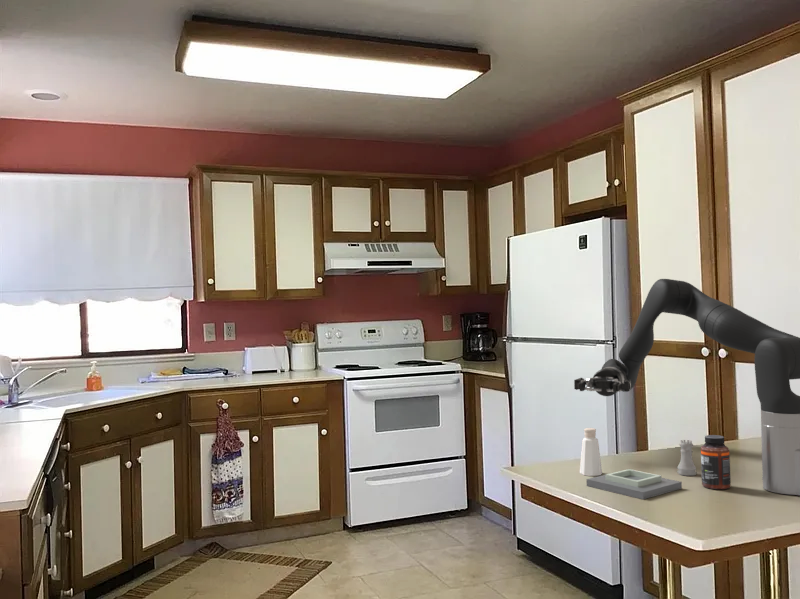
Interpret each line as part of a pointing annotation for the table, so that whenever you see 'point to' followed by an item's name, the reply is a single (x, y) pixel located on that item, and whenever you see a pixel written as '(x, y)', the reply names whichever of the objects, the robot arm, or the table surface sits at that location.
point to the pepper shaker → (590, 454)
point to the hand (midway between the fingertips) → (597, 387)
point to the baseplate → (634, 483)
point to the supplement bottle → (715, 463)
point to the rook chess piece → (686, 459)
